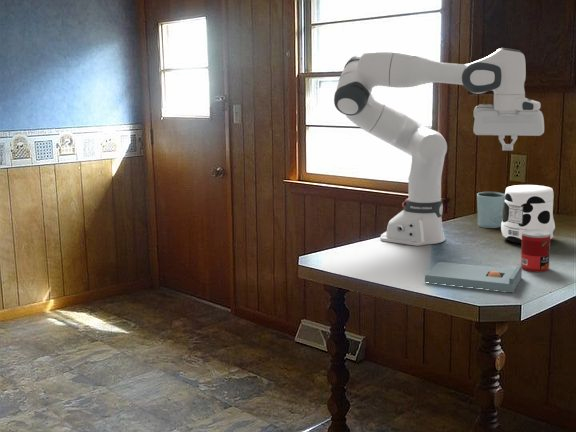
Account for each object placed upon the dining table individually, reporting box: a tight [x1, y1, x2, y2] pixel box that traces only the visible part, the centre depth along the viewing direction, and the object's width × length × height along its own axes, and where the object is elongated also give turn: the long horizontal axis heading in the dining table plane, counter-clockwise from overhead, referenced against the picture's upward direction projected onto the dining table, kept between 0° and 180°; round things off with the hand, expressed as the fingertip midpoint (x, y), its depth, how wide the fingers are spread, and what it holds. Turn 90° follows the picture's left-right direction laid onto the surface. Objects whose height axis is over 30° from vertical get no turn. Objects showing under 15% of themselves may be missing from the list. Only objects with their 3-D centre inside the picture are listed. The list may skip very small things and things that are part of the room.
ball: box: [488, 271, 501, 278], centre depth 192 cm, size 4×4×4 cm
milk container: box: [500, 184, 556, 244], centre depth 233 cm, size 17×17×18 cm
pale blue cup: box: [476, 191, 505, 229], centre depth 257 cm, size 10×10×12 cm
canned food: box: [520, 230, 551, 273], centre depth 203 cm, size 8×8×11 cm
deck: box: [424, 261, 523, 293], centre depth 195 cm, size 24×14×4 cm, turn 63°
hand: (507, 150), depth 208 cm, fingers closed
